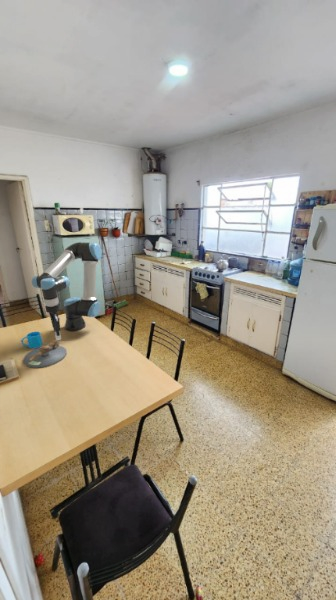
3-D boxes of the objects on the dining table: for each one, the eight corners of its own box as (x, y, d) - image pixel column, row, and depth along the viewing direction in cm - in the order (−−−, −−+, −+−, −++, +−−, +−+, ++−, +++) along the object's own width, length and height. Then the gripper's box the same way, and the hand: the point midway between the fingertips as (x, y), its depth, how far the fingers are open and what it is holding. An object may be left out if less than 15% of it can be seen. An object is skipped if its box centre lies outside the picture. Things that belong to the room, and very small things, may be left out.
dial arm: (53, 345, 165) (52, 339, 164) (61, 346, 163) (60, 340, 162) (27, 362, 146) (25, 356, 144) (35, 364, 144) (34, 358, 142)
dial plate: (56, 343, 171) (56, 337, 170) (73, 356, 155) (72, 350, 154) (18, 356, 155) (16, 351, 154) (32, 373, 139) (30, 367, 138)
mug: (42, 341, 174) (40, 330, 171) (42, 346, 167) (40, 335, 164) (22, 344, 169) (20, 334, 166) (21, 350, 162) (19, 339, 159)
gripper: (42, 302, 150) (49, 337, 159) (48, 309, 141) (55, 345, 149) (55, 299, 155) (61, 333, 163) (61, 306, 145) (68, 341, 154)
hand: (58, 339), depth 156 cm, fingers closed
